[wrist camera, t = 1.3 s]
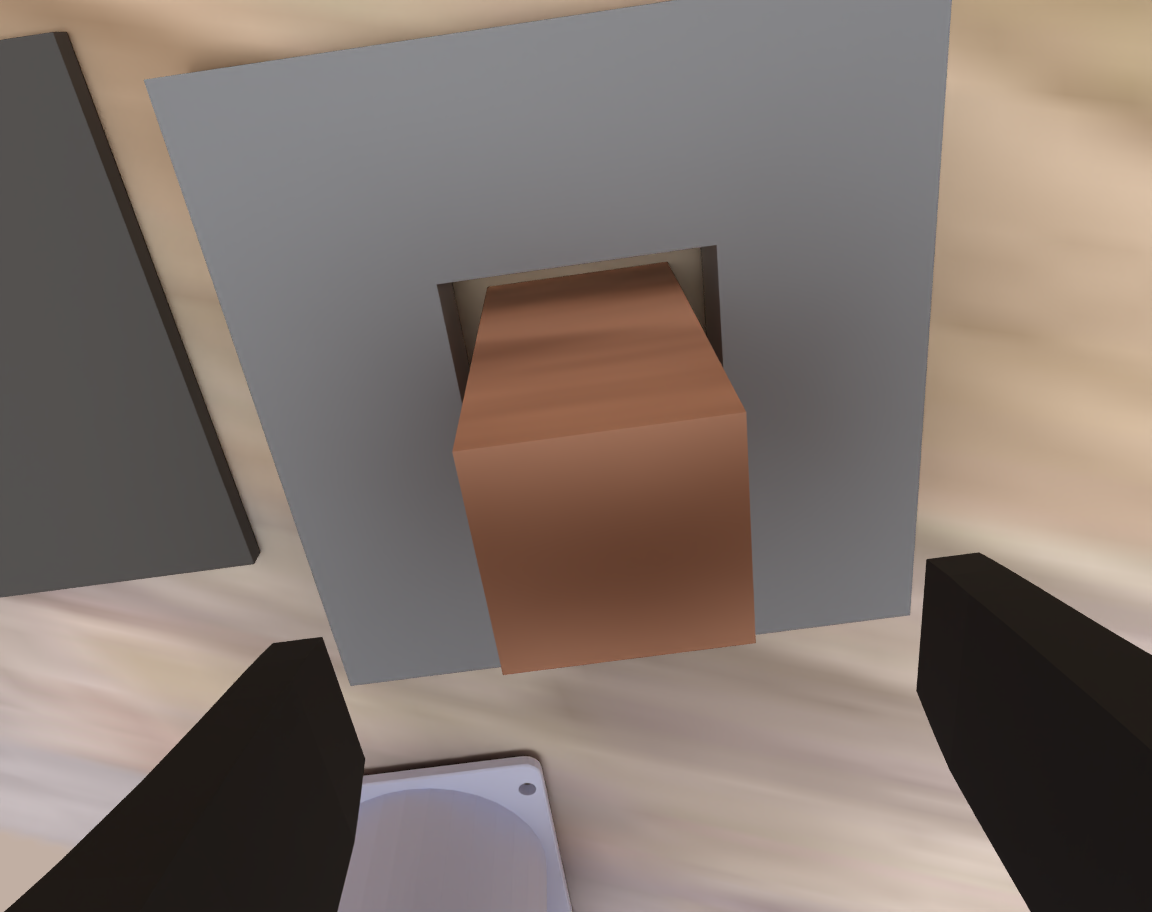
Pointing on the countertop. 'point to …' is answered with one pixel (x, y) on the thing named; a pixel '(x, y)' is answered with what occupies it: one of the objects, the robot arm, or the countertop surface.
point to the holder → (570, 237)
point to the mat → (92, 362)
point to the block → (604, 473)
